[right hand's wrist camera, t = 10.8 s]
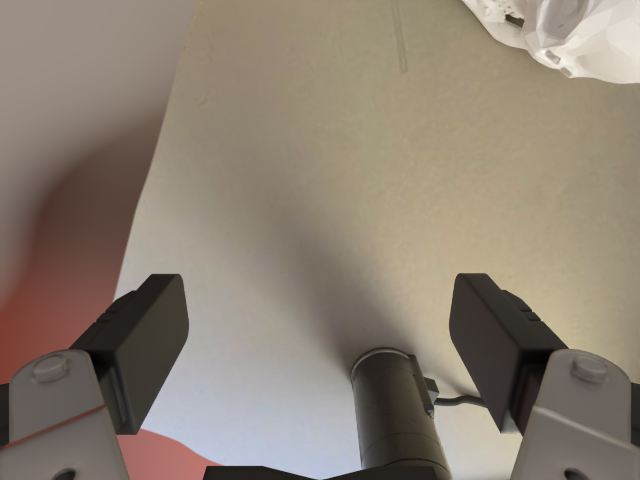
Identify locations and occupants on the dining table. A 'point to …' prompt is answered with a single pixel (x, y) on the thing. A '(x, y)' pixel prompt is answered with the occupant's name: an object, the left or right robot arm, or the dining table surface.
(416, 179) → the dining table surface
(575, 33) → the skull
